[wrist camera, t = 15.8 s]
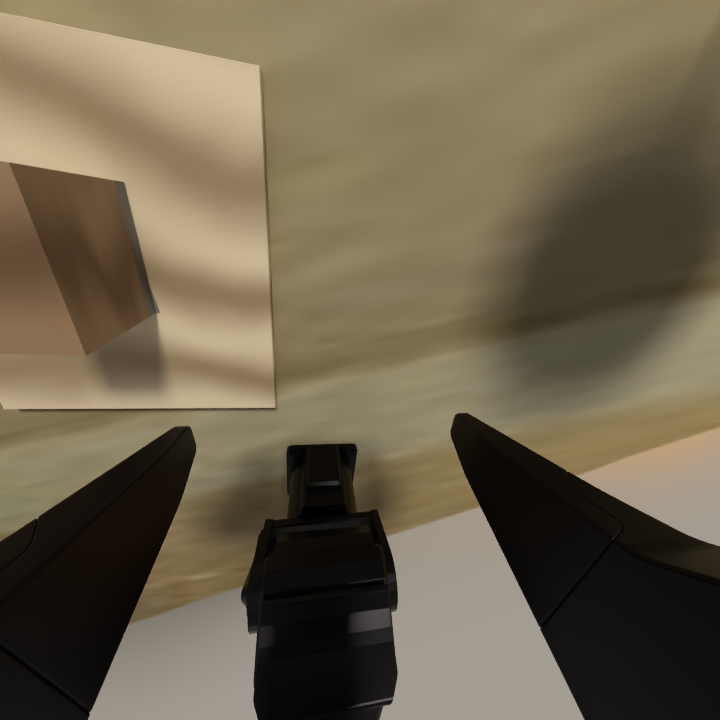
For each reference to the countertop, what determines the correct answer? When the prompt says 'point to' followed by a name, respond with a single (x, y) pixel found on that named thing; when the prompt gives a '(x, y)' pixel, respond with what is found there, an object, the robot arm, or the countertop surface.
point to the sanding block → (67, 262)
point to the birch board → (152, 212)
